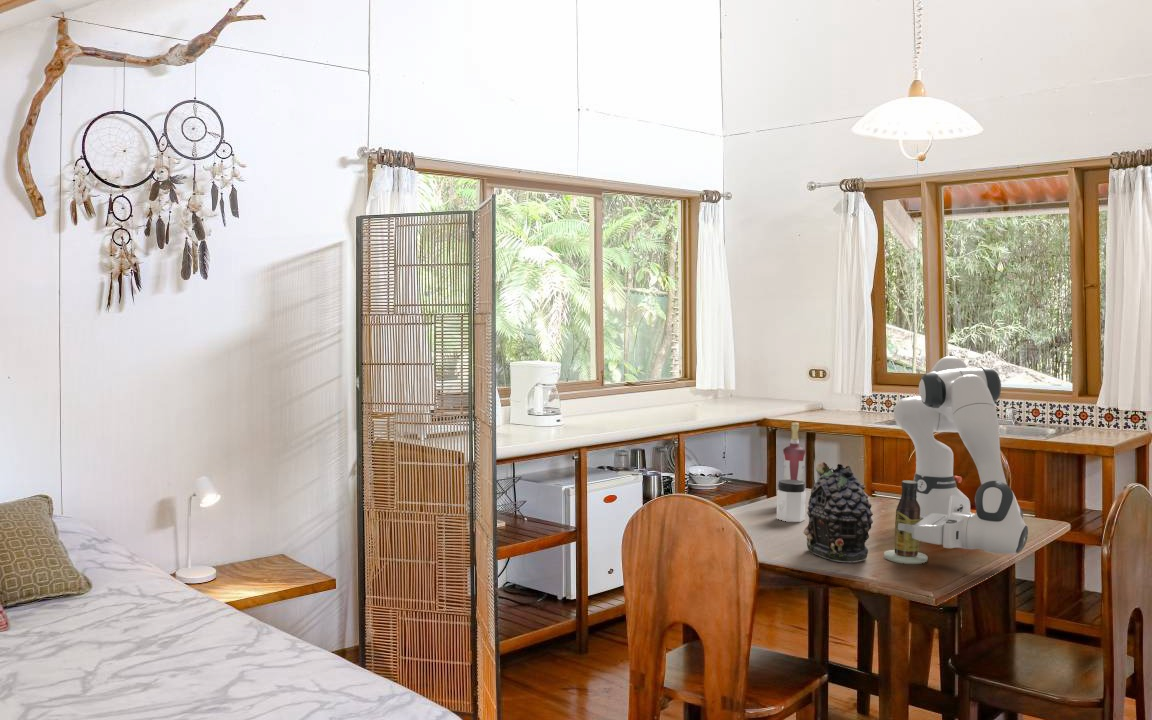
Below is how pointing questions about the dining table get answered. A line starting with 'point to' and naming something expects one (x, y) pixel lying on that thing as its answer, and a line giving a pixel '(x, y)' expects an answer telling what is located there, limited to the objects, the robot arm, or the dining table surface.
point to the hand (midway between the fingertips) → (903, 522)
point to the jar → (791, 500)
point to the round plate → (905, 558)
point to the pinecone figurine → (838, 515)
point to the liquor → (794, 457)
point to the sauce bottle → (907, 520)
